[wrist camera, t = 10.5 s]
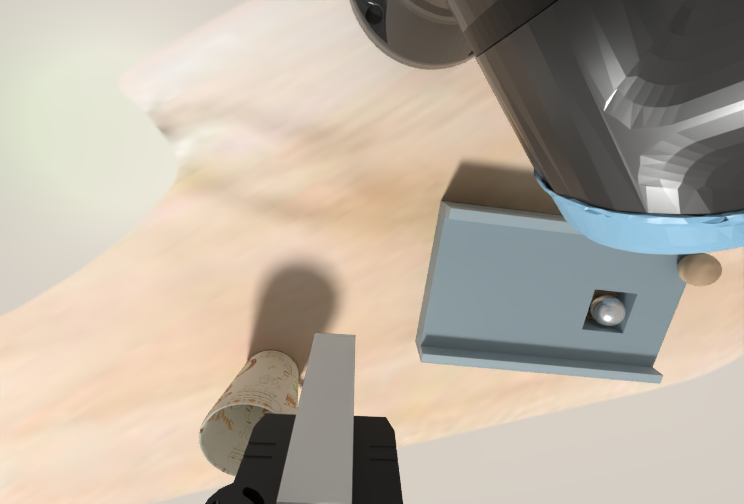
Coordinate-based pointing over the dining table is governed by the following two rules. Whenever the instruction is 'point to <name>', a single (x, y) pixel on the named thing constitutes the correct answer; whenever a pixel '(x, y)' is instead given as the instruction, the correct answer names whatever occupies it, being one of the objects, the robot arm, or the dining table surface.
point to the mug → (248, 407)
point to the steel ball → (607, 310)
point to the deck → (540, 297)
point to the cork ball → (699, 269)
